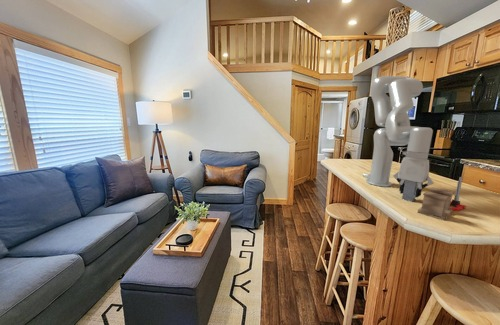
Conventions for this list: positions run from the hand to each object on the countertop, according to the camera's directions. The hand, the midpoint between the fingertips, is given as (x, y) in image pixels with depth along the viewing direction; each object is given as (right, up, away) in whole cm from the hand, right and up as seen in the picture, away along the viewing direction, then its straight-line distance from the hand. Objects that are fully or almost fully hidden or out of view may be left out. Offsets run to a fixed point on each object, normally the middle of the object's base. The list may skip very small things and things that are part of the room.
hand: (409, 194), depth 96 cm
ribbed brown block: (0, -5, -13) cm, 14 cm away
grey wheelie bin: (0, -2, 0) cm, 2 cm away
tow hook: (+12, -4, -7) cm, 14 cm away
